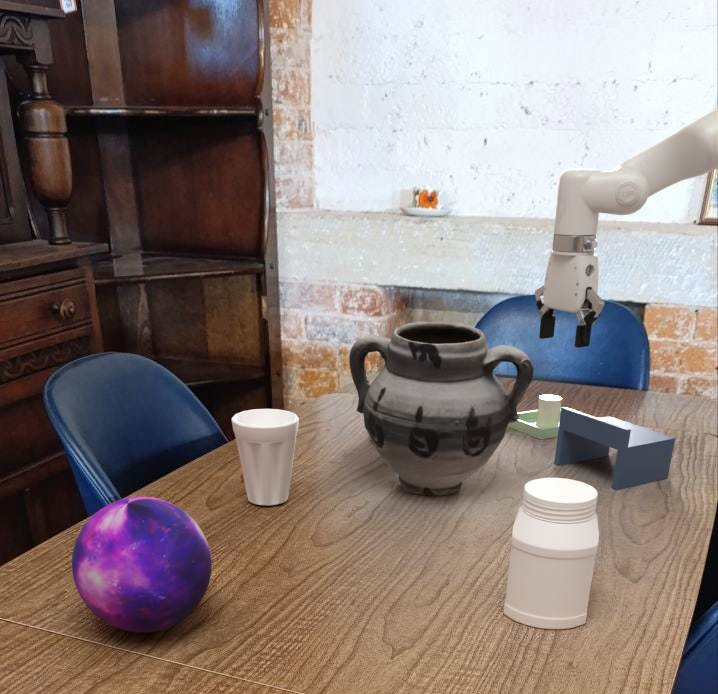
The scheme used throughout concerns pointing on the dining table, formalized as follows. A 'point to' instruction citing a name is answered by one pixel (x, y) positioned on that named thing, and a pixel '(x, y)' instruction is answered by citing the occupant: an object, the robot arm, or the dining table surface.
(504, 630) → the dining table surface
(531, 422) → the tray
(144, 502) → the decorative orb
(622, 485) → the stand
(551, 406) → the canister
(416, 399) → the ceramic pot
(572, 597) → the jar
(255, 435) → the cup
